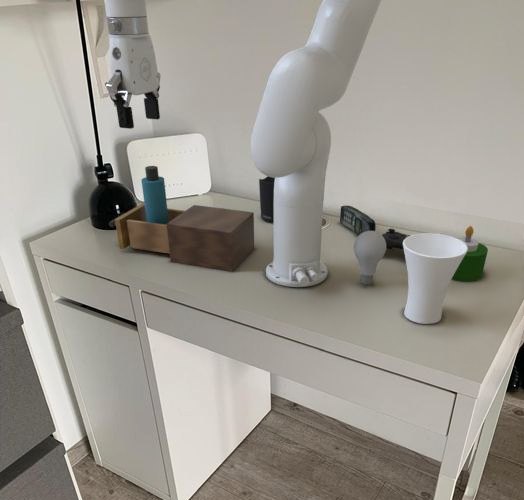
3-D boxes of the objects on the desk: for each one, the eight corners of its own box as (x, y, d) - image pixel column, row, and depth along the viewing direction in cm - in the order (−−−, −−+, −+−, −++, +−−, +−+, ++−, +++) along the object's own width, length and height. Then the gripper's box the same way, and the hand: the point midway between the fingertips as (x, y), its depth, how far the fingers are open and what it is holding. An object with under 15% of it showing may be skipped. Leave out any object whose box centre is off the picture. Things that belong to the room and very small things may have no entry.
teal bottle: (171, 241, 123) (163, 169, 114) (150, 244, 122) (140, 171, 113) (169, 234, 127) (161, 163, 118) (148, 236, 126) (139, 165, 117)
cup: (393, 327, 95) (403, 255, 87) (392, 299, 103) (401, 231, 96) (455, 333, 93) (472, 259, 86) (449, 303, 102) (464, 234, 94)
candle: (454, 283, 108) (463, 236, 103) (432, 266, 115) (440, 221, 110) (490, 278, 110) (502, 231, 105) (467, 262, 117) (476, 216, 111)
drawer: (104, 246, 124) (99, 217, 120) (132, 228, 133) (128, 201, 129) (172, 257, 118) (169, 227, 115) (196, 238, 127) (194, 209, 123)
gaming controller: (360, 239, 116) (381, 217, 122) (360, 263, 120) (381, 240, 126) (423, 254, 109) (443, 231, 115) (420, 279, 113) (440, 255, 119)
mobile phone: (338, 204, 134) (372, 223, 122) (349, 203, 135) (383, 221, 123) (337, 224, 137) (370, 244, 125) (347, 222, 138) (381, 242, 126)
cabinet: (170, 261, 119) (166, 223, 114) (196, 240, 128) (193, 204, 124) (232, 271, 114) (230, 232, 109) (254, 249, 124) (253, 212, 119)
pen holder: (256, 212, 144) (256, 174, 138) (291, 210, 145) (292, 172, 139) (263, 225, 136) (262, 185, 130) (299, 222, 137) (301, 182, 132)
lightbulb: (364, 274, 112) (369, 223, 106) (387, 285, 108) (394, 232, 102) (344, 283, 109) (348, 231, 103) (367, 294, 105) (373, 240, 99)
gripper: (117, 31, 97) (131, 133, 106) (168, 25, 110) (177, 116, 119) (83, 30, 99) (100, 130, 108) (137, 25, 112) (147, 114, 122)
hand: (140, 123), depth 114 cm, fingers open, 9 cm apart
